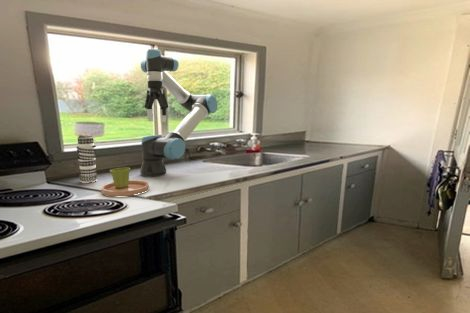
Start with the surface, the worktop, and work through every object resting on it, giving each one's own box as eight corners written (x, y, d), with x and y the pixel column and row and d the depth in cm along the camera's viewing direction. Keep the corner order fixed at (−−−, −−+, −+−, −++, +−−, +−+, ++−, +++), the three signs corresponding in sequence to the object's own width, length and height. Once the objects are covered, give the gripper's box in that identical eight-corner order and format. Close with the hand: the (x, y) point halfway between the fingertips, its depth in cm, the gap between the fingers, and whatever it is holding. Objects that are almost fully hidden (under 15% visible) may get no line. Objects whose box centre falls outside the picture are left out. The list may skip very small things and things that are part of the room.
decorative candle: (90, 178, 168) (87, 133, 164) (102, 180, 164) (98, 134, 160) (75, 182, 160) (71, 135, 156) (87, 184, 156) (83, 135, 152)
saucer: (94, 190, 144) (94, 185, 144) (136, 183, 158) (136, 178, 158) (112, 200, 129) (112, 194, 129) (156, 190, 144) (156, 185, 143)
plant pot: (112, 190, 140) (110, 171, 139) (110, 186, 148) (108, 169, 147) (133, 187, 144) (131, 169, 143) (130, 183, 153) (128, 166, 151)
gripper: (136, 81, 164) (139, 121, 167) (161, 78, 146) (162, 122, 149) (149, 82, 169) (151, 120, 172) (174, 79, 151) (175, 122, 155)
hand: (156, 121), depth 161 cm, fingers open, 13 cm apart
